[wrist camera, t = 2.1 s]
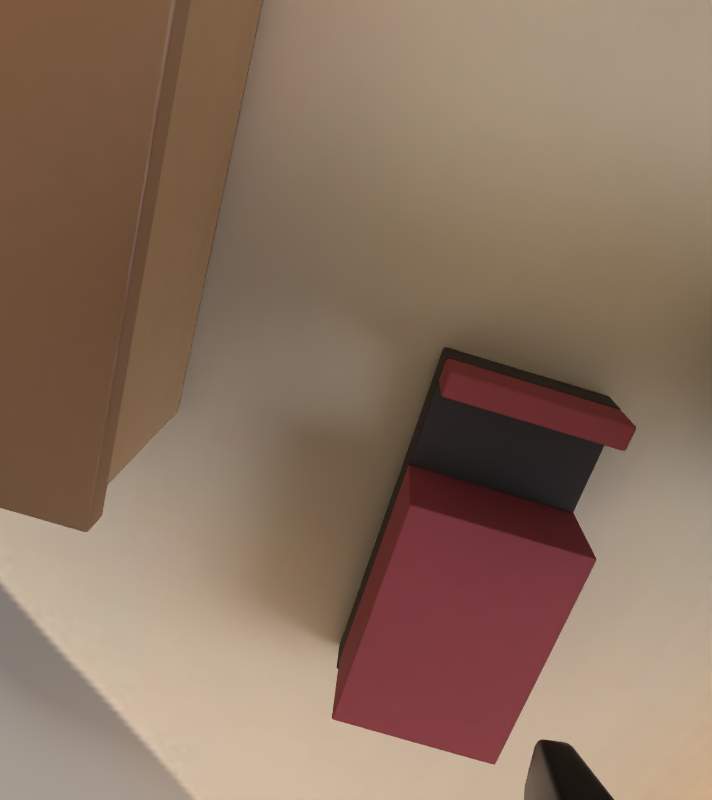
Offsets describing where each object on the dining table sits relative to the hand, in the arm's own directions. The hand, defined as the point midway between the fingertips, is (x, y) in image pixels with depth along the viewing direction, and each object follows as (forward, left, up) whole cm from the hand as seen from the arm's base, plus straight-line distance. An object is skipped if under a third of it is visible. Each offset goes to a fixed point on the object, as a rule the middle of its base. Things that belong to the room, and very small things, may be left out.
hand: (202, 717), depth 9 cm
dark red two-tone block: (-6, +3, -13) cm, 14 cm away
